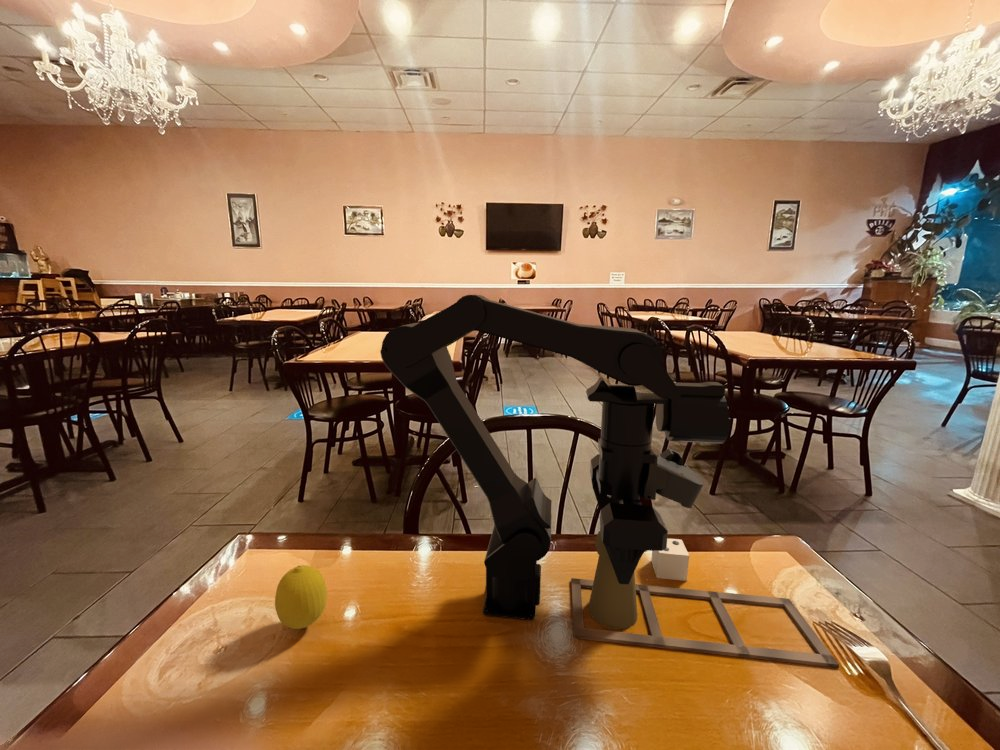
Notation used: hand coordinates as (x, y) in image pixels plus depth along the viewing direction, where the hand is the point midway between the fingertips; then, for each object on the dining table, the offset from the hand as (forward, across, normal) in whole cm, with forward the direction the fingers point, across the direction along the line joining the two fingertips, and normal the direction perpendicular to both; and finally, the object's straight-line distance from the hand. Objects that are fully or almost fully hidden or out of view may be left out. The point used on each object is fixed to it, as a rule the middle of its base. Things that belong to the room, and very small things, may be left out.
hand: (617, 558), depth 52 cm
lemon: (+7, -8, +37) cm, 39 cm away
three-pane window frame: (+7, 0, -9) cm, 11 cm away
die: (+8, +10, -9) cm, 15 cm away
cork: (+8, 0, 0) cm, 8 cm away
